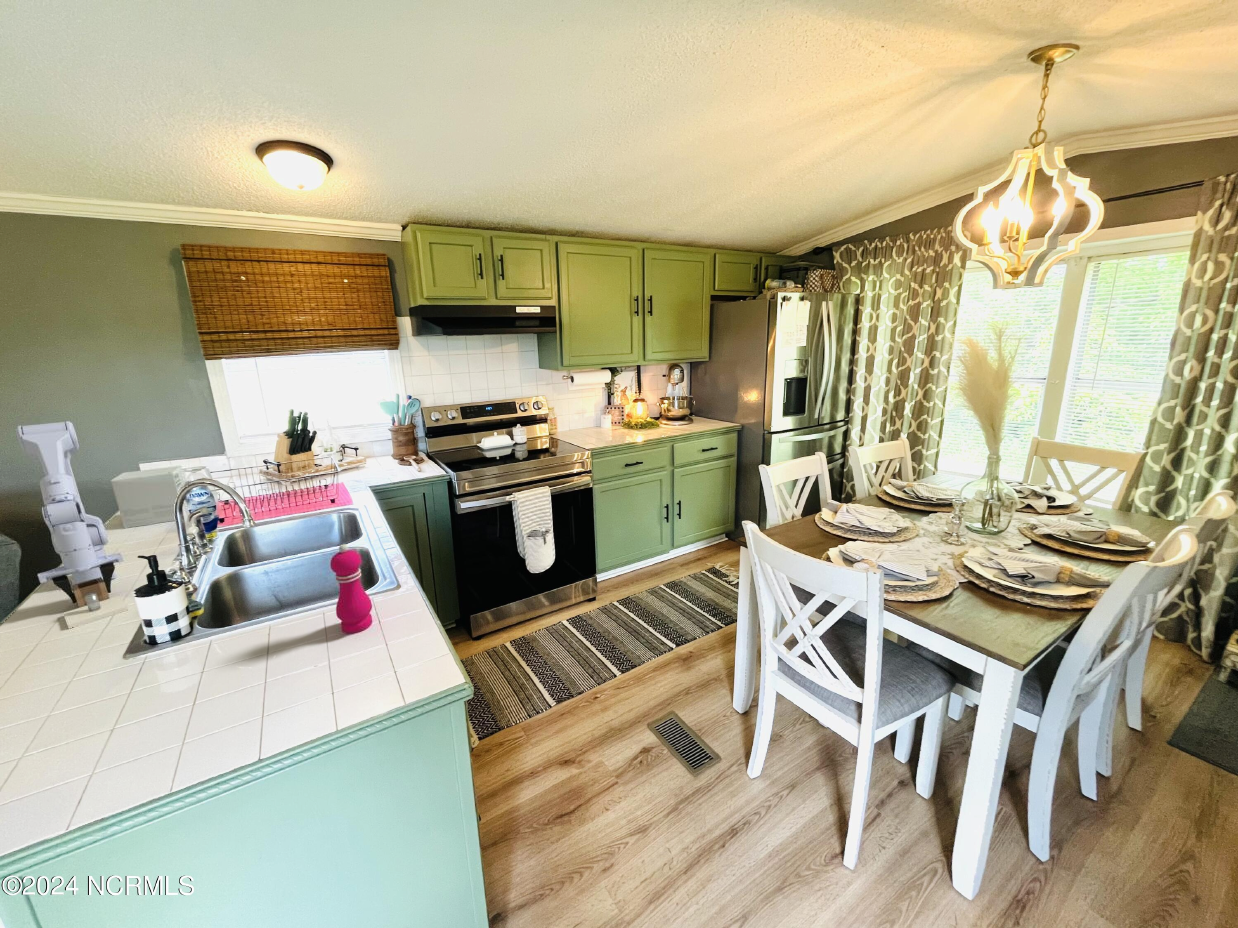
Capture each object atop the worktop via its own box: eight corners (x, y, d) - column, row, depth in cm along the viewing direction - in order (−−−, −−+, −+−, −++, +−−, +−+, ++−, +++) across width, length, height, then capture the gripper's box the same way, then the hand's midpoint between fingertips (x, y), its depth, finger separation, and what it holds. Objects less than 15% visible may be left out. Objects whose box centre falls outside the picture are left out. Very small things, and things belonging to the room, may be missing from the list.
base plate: (64, 616, 120) (57, 597, 119) (120, 598, 128) (115, 581, 126) (68, 629, 115) (62, 609, 113) (127, 609, 122) (122, 591, 121)
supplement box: (194, 509, 195) (182, 464, 190) (185, 519, 184) (173, 472, 179) (135, 517, 187) (122, 471, 182) (123, 529, 176) (108, 480, 171)
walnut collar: (76, 602, 126) (70, 585, 125) (106, 594, 130) (101, 576, 129) (79, 609, 123) (73, 591, 122) (110, 600, 127) (104, 582, 126)
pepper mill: (360, 636, 109) (345, 553, 104) (331, 633, 111) (315, 550, 105) (381, 618, 116) (368, 539, 111) (354, 615, 117) (340, 537, 112)
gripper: (32, 562, 115) (51, 614, 118) (119, 541, 126) (133, 589, 129) (30, 554, 119) (48, 605, 122) (114, 535, 130) (128, 581, 133)
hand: (92, 596), depth 126 cm, fingers closed on walnut collar, 5 cm apart
